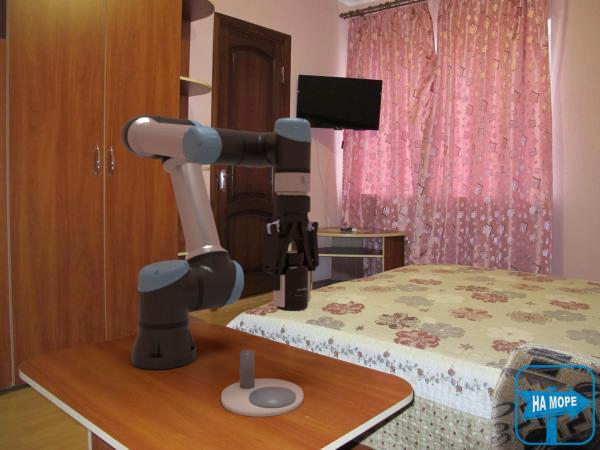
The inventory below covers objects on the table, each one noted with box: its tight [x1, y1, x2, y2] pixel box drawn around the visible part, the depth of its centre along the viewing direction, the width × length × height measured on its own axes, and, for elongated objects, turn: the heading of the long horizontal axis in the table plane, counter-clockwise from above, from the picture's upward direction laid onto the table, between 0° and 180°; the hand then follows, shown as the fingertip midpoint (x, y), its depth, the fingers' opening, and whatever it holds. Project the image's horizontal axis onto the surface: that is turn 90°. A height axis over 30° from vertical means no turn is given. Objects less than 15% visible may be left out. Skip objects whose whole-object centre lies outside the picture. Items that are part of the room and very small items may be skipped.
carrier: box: [220, 349, 304, 418], centre depth 97 cm, size 16×16×8 cm
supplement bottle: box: [275, 250, 309, 312], centre depth 104 cm, size 7×7×12 cm
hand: (291, 303), depth 104 cm, fingers closed on supplement bottle, 7 cm apart
